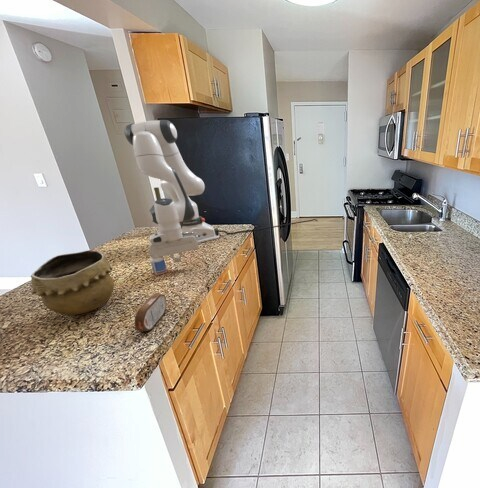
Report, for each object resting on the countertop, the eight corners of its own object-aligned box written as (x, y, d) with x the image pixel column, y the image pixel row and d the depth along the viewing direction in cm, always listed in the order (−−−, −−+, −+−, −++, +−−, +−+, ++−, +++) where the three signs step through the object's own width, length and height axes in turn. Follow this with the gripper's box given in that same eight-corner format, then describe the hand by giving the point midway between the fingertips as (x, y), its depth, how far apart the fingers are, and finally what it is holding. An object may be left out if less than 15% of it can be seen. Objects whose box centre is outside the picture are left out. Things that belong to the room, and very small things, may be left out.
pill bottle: (169, 270, 124) (165, 251, 121) (162, 275, 119) (157, 256, 116) (159, 269, 125) (154, 250, 121) (151, 274, 120) (145, 255, 116)
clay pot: (108, 321, 89) (89, 269, 81) (30, 333, 83) (2, 279, 76) (132, 290, 107) (117, 245, 100) (69, 298, 102) (49, 251, 94)
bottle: (168, 233, 174) (158, 188, 163) (158, 233, 174) (147, 188, 163) (174, 230, 180) (164, 186, 169) (164, 230, 180) (154, 186, 169)
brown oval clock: (161, 308, 95) (156, 288, 92) (170, 308, 96) (165, 288, 93) (137, 337, 82) (130, 315, 78) (148, 336, 82) (141, 314, 79)
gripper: (194, 228, 128) (199, 254, 133) (145, 236, 117) (153, 264, 122) (197, 232, 123) (202, 258, 128) (145, 240, 112) (153, 269, 117)
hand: (177, 261), depth 125 cm, fingers closed
